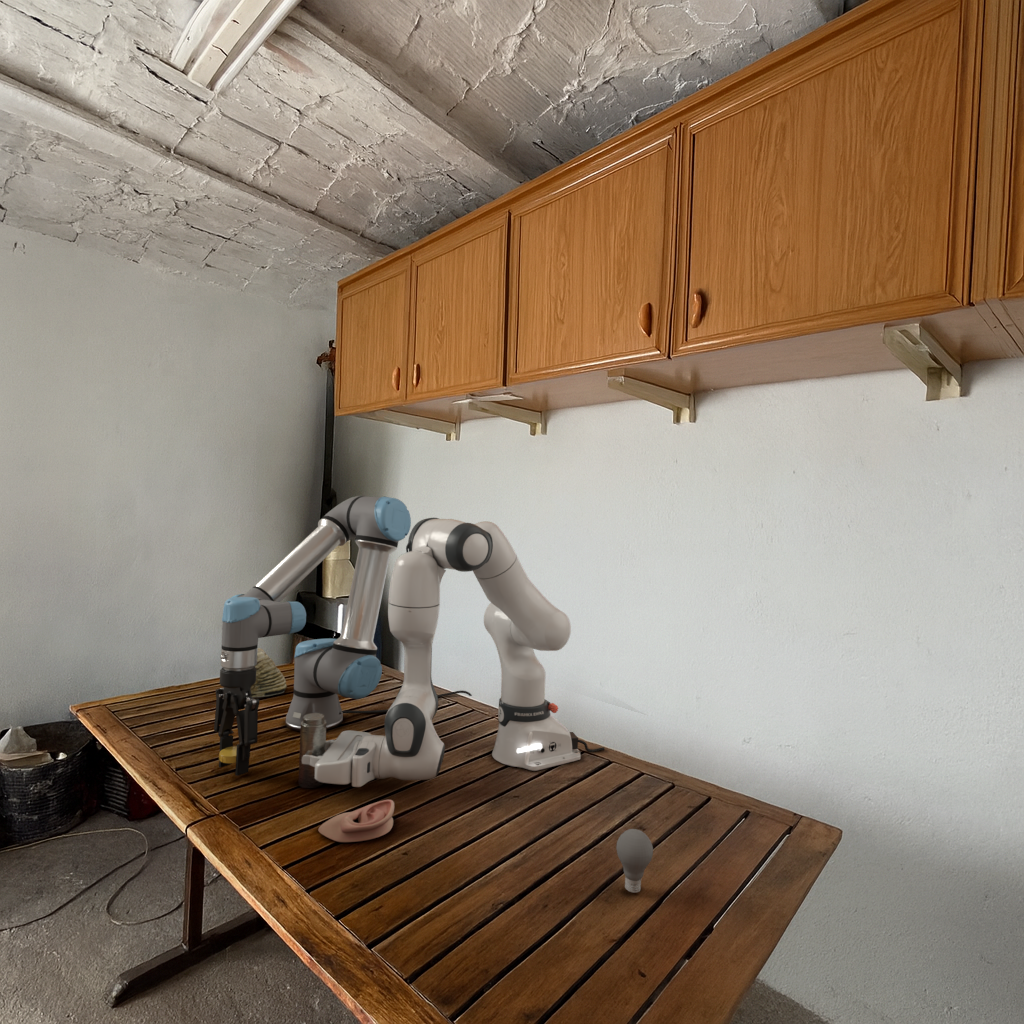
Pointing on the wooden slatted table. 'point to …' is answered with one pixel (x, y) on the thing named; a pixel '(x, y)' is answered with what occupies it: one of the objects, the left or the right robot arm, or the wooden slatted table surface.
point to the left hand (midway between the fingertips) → (233, 769)
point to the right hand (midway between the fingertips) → (308, 752)
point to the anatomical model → (360, 823)
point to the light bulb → (634, 857)
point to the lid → (228, 755)
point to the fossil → (267, 677)
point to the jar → (311, 747)
